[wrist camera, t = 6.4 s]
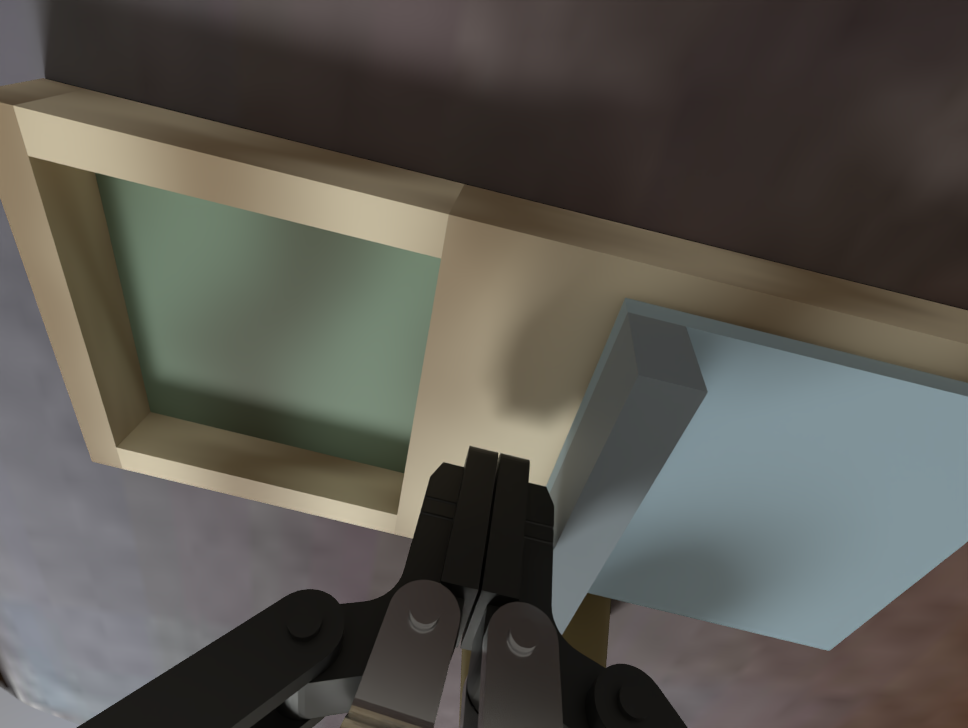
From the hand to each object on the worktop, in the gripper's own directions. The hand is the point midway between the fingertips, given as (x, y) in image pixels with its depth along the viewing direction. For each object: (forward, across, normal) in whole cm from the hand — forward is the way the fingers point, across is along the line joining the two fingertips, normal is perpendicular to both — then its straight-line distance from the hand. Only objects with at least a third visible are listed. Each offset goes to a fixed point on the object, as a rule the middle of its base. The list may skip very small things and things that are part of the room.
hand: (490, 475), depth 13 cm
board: (+4, 0, 0) cm, 4 cm away
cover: (+1, -7, 0) cm, 7 cm away
